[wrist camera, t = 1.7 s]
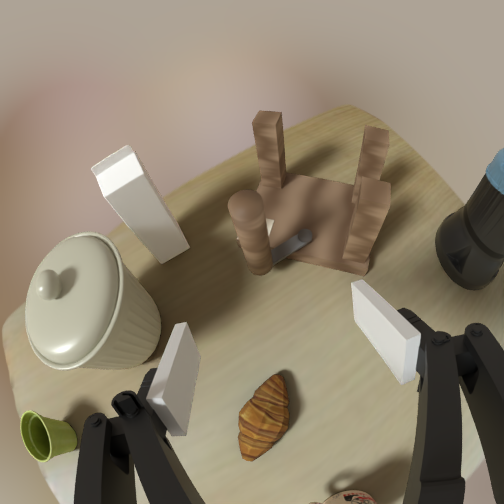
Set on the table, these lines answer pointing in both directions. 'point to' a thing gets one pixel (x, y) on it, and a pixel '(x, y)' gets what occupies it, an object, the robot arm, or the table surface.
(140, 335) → the canister
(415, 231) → the table surface
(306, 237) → the hinged leg
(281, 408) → the croissant
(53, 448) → the plant pot
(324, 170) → the table surface
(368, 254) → the stool seat
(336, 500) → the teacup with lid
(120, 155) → the milk
